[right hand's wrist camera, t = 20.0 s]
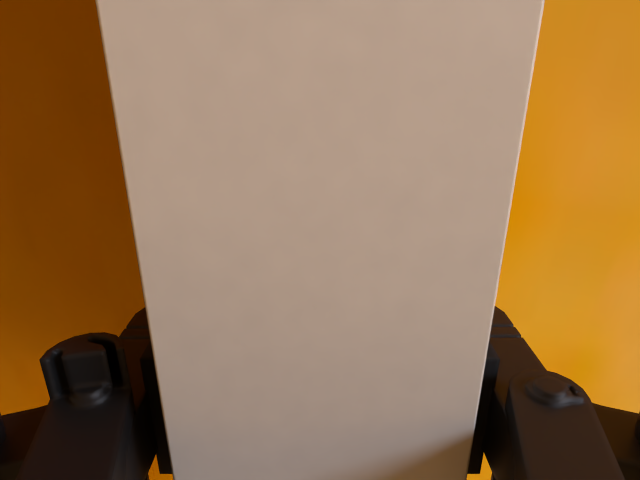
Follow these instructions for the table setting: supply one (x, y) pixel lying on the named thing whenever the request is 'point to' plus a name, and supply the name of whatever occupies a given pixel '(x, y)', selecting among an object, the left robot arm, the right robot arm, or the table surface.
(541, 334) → the table surface
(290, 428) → the beam
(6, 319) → the table surface
